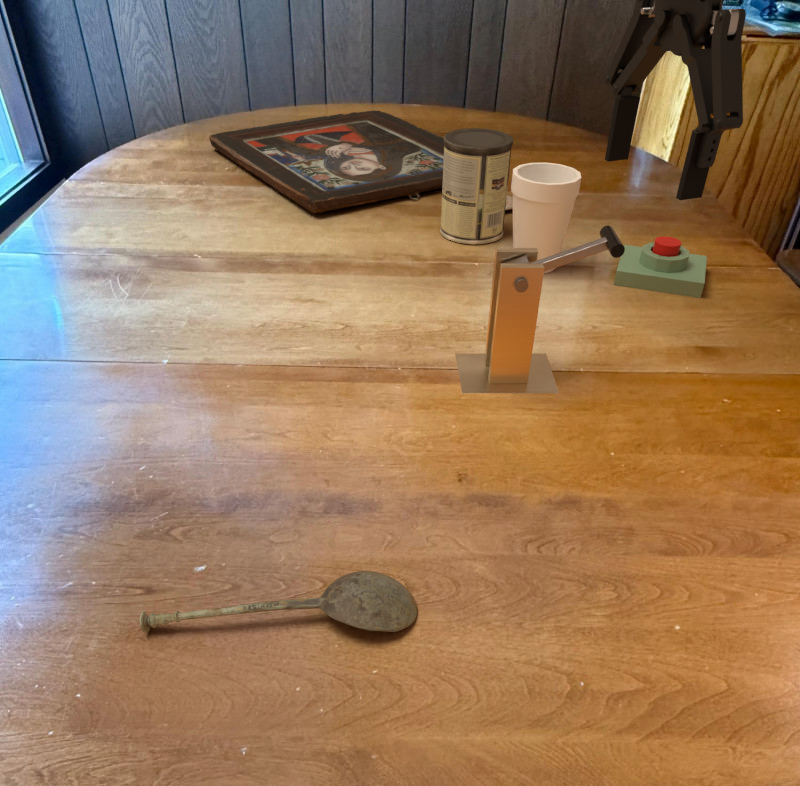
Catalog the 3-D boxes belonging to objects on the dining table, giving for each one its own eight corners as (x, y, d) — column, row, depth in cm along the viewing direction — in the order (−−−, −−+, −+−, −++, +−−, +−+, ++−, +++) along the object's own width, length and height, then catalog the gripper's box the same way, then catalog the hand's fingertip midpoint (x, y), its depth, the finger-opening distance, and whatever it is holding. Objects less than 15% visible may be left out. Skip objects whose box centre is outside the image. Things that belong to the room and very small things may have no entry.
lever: (615, 240, 82) (611, 218, 81) (626, 259, 78) (623, 237, 77) (504, 278, 85) (498, 258, 83) (510, 299, 81) (505, 278, 79)
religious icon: (316, 222, 126) (315, 203, 124) (207, 150, 154) (204, 133, 152) (507, 180, 143) (509, 163, 141) (377, 122, 171) (377, 107, 169)
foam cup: (550, 284, 110) (564, 189, 102) (492, 269, 114) (501, 176, 105) (575, 261, 116) (591, 170, 108) (519, 247, 120) (530, 158, 111)
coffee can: (453, 216, 129) (458, 124, 120) (511, 227, 126) (522, 133, 117) (428, 237, 122) (433, 141, 113) (490, 249, 119) (499, 151, 110)
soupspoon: (422, 645, 62) (411, 588, 67) (425, 615, 60) (414, 559, 65) (137, 659, 59) (148, 599, 64) (129, 628, 57) (142, 569, 62)
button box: (702, 270, 115) (710, 243, 112) (700, 298, 108) (708, 270, 105) (621, 258, 117) (626, 232, 115) (613, 285, 110) (619, 258, 108)
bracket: (544, 362, 94) (563, 240, 84) (558, 402, 87) (580, 275, 77) (454, 362, 94) (463, 240, 84) (461, 402, 87) (471, 275, 77)
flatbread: (469, 211, 131) (470, 205, 130) (474, 196, 136) (474, 190, 136) (517, 215, 130) (518, 209, 129) (520, 200, 135) (521, 194, 135)
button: (678, 250, 111) (682, 238, 110) (677, 260, 109) (680, 247, 107) (653, 247, 112) (656, 234, 111) (651, 256, 109) (654, 244, 108)
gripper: (595, -75, 79) (563, 148, 93) (764, -49, 62) (693, 221, 76) (657, -77, 81) (616, 142, 95) (836, -51, 64) (754, 212, 78)
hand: (650, 178), depth 86 cm, fingers open, 13 cm apart
